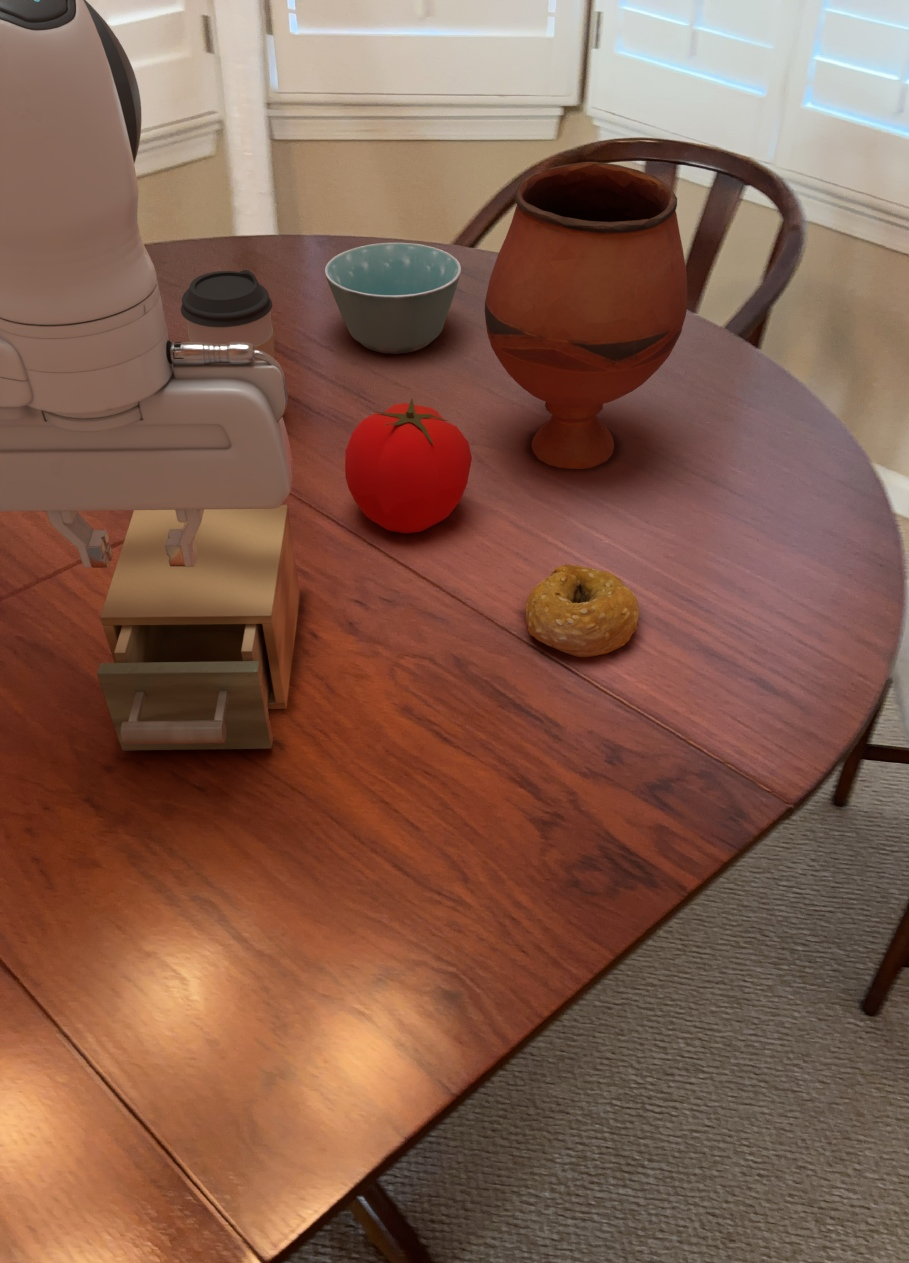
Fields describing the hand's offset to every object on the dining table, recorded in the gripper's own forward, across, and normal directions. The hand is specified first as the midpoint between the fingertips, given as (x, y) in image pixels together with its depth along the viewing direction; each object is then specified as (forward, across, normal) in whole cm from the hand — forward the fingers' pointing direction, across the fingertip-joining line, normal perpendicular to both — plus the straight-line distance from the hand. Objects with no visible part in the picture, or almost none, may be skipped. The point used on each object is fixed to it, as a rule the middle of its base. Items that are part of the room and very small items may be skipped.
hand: (141, 561), depth 67 cm
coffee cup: (+19, +2, -52) cm, 55 cm away
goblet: (+19, -33, -46) cm, 60 cm away
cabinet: (+19, 0, -14) cm, 24 cm away
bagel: (+19, -31, -17) cm, 40 cm away
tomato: (+19, -16, -34) cm, 42 cm away
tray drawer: (+18, 0, -6) cm, 19 cm away
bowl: (+19, -14, -72) cm, 76 cm away
